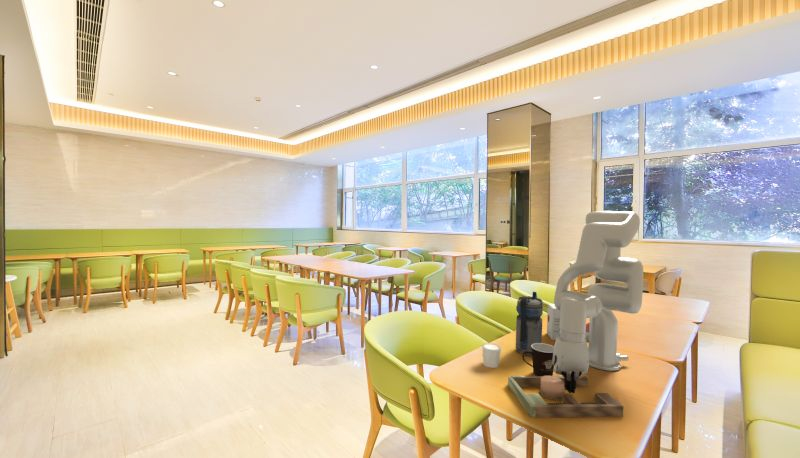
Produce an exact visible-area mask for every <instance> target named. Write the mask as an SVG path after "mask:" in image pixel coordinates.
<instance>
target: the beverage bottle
mask: <svg viewBox="0 0 800 458" xmlns="http://www.w3.org/2000/svg"><path fill="white" fill-rule="evenodd" d="M516 302H517V303H516V309H515V310H516V312H517V313H518V314H517V315H516V322H515V323H516V325H515V350H516V351H517V352H518V353H519V354H522V355H523V353H524V352H526V351H529V352H532V350H531V345H532V344H535V343H542V341H543V340H542V338H543V318H542V315H543V311H544V305H543V303H544V301H543V299H542V298H539V297H538V294H537V291H532V296H531V295H529V296H525V295H524V296H519V297H518V300H517V301H516ZM524 356H528V357H529V356H530V357H532V355H531V354H530V353H526V354H525V355H524Z"/></svg>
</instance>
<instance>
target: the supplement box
mask: <svg viewBox="0 0 800 458" xmlns="http://www.w3.org/2000/svg"><path fill="white" fill-rule="evenodd" d="M546 319H547V320H546V322H547V323H546V334H547V335H548V337H549V338H550V339H551V340H552V341H556V338H557V337H559V329H560V310H558V309H557V308H556V307H555V304H554V303H547V317H546Z"/></svg>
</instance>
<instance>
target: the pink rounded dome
mask: <svg viewBox="0 0 800 458" xmlns="http://www.w3.org/2000/svg"><path fill="white" fill-rule="evenodd" d="M554 376H555V375H553V376H542V377H541V385H540V388H539V389H540V390H539V393H540V396H541V397H542V396H543V397H544V398H546V399H548V400H551V401H561V400H562V401H563V393H565V387H564V381H563V380H561V379H560V378H557V377H554Z"/></svg>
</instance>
